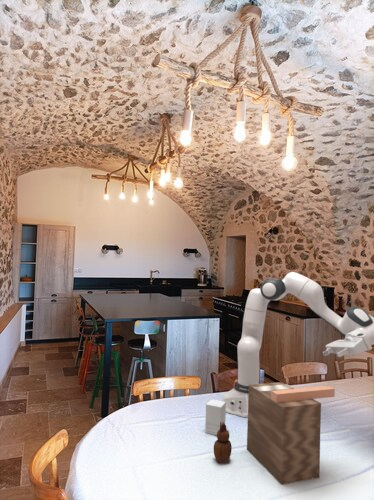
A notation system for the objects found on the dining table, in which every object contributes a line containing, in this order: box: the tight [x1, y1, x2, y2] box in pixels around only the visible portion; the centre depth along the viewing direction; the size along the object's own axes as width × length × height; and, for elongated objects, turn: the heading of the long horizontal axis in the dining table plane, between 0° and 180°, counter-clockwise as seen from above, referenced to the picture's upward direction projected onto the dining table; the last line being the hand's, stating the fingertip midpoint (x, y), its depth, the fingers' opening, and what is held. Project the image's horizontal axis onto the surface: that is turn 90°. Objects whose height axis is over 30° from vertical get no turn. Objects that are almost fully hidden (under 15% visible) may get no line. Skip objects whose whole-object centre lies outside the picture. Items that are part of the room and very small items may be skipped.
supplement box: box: [204, 398, 227, 436], centre depth 158 cm, size 7×7×13 cm
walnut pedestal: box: [246, 381, 322, 485], centre depth 135 cm, size 16×24×26 cm, turn 20°
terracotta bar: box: [271, 385, 336, 403], centre depth 132 cm, size 26×4×3 cm, turn 110°
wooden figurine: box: [213, 422, 233, 463], centre depth 134 cm, size 7×6×15 cm
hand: (330, 354), depth 149 cm, fingers open, 8 cm apart
